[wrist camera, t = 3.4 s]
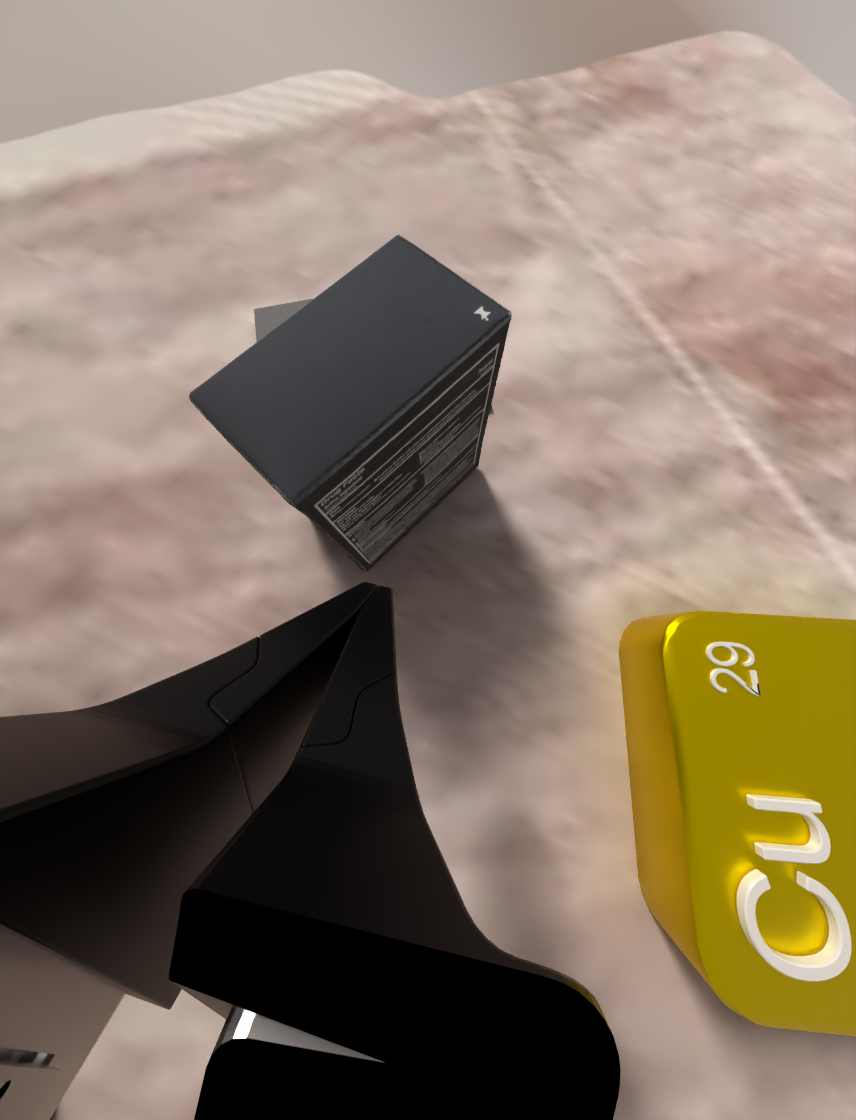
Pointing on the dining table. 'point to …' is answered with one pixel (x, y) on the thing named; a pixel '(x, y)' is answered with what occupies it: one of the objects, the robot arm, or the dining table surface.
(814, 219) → the dining table surface
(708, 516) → the dining table surface
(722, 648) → the element tile
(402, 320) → the small box
